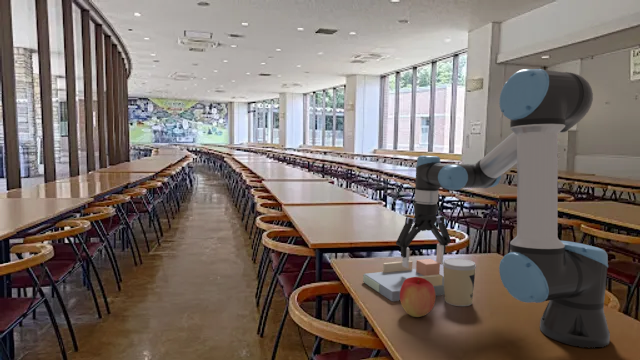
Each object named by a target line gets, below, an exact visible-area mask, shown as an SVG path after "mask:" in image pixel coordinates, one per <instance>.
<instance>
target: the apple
mask: <svg viewBox="0 0 640 360" xmlns="http://www.w3.org/2000/svg"><path fill="white" fill-rule="evenodd" d="M436 297H437V296H435V290H434V287H433V285H432V284H431V283H430V282H429V281H427V280H426V279H424V278H420V277H411V278H407V279H406V280H405V281H404V282H403V284H402V287H401V290H400V305H401V307H402V308H403V309H404V312H406V314H408V315H409V316H410V317H413V318H420V317H424V316H425V315H427V314H429V313H430V312H432V310H433V308H434V306H435V303H436Z"/></svg>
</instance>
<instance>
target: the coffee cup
mask: <svg viewBox="0 0 640 360" xmlns="http://www.w3.org/2000/svg"><path fill="white" fill-rule="evenodd" d="M442 267H443V268H442V269H443V276H444V292H445V295H444V302H445V303H447V304H449V305H450V306H457V307H469V306H472V304H473V297H474V287H475V277H476V268H477V265H476V262H474V260H473V261H472V260H470V259H467V258H460V257H459V258H455V257H453V258H452V257H451V258H447V259H443V264H442Z"/></svg>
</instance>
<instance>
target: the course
mask: <svg viewBox="0 0 640 360" xmlns="http://www.w3.org/2000/svg"><path fill="white" fill-rule="evenodd" d="M362 276H363V278H362V279H363V281H362V283H364V284H366V285H367V286H368V287H370V288H371V289H373V290H374V291H375V292H376V293H379V294H380V295H382V296H383V297H384V298H387V299H388V300H389V301H391V302H399V300H400V290H401V287H402V284H403V282H404V281H405V280H406V279H407V278H411V277H420V278H424V279H426V280H427V281H429V282H430V283H431V284H432V285H433V287H434V290H435V296H436V297H437V296H445V292H444V275H443V274H440V273H439V274H437V275H428V276H424V275H422V274H420V273H418V272H416V268H413V261H412V260H409V268H406V267H404V266H402V261H393V262H392V261H391V262H384V263H383V262H382V271H379V272H378V271H377V272H369V273H363V275H362Z"/></svg>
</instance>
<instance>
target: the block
mask: <svg viewBox="0 0 640 360" xmlns="http://www.w3.org/2000/svg"><path fill="white" fill-rule="evenodd" d="M415 264H416V266H415V267H416V268H415V269H416V272H418V273H420V274H422V275H424V276H428V275H437V274H440V273H441V272H440V271H441V270H440V269H441V264H440V263H438V262H436V260H434V259H432V258H426V259H425V258H424V259H417V260H416V263H415Z"/></svg>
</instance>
